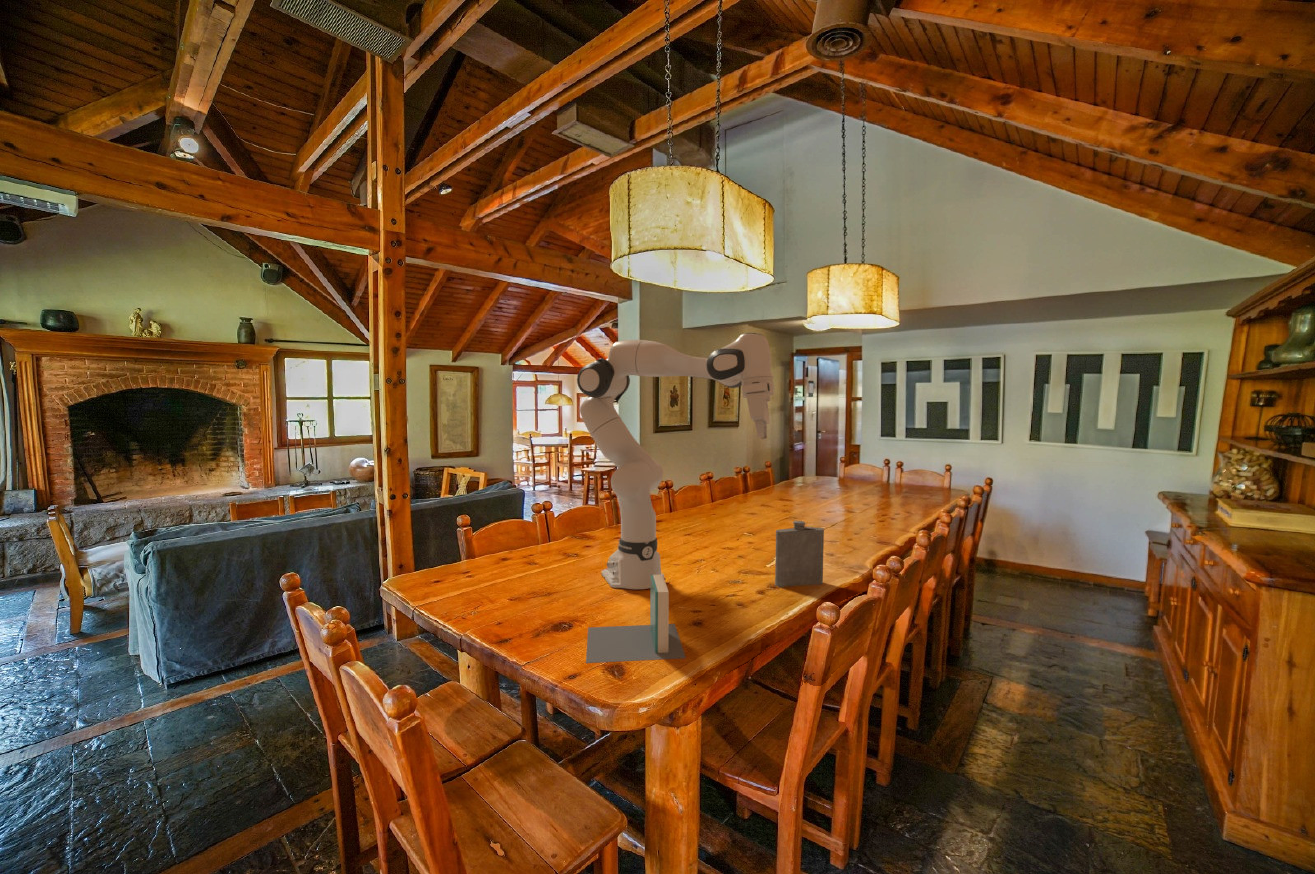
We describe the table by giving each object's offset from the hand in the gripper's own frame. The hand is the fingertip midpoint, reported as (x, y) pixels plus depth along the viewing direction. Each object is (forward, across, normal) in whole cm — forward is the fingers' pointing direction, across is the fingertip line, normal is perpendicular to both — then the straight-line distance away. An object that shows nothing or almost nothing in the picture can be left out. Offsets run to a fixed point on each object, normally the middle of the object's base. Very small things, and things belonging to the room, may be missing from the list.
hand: (762, 438), depth 145 cm
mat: (+47, +29, -32) cm, 64 cm away
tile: (+47, +27, -26) cm, 60 cm away
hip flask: (+46, -24, +5) cm, 52 cm away
